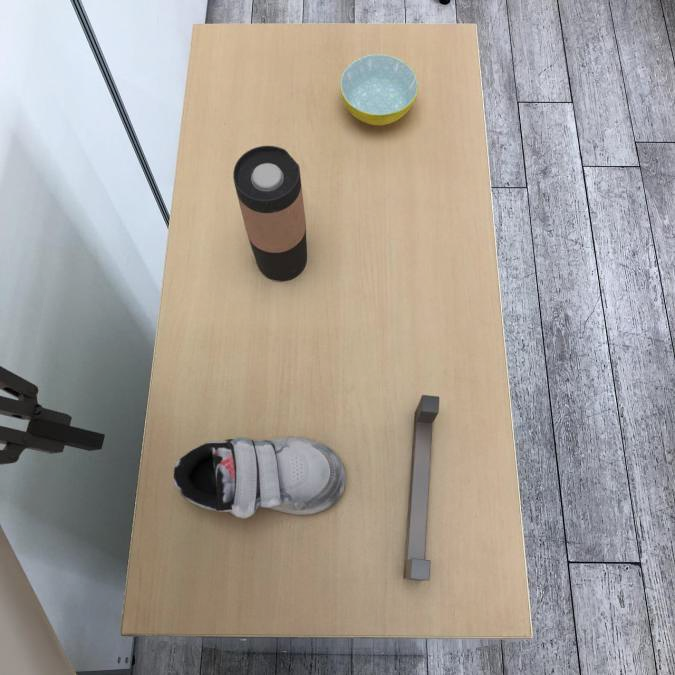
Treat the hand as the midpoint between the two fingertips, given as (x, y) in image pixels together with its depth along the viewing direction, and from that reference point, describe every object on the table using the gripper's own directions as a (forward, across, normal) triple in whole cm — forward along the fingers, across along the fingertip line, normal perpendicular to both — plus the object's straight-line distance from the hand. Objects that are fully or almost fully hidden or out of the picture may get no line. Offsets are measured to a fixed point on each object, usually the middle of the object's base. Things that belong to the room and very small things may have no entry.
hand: (97, 442), depth 63 cm
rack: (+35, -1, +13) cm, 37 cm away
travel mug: (+20, -31, -2) cm, 37 cm away
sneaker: (+22, 0, 0) cm, 22 cm away
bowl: (+28, -58, +6) cm, 65 cm away
